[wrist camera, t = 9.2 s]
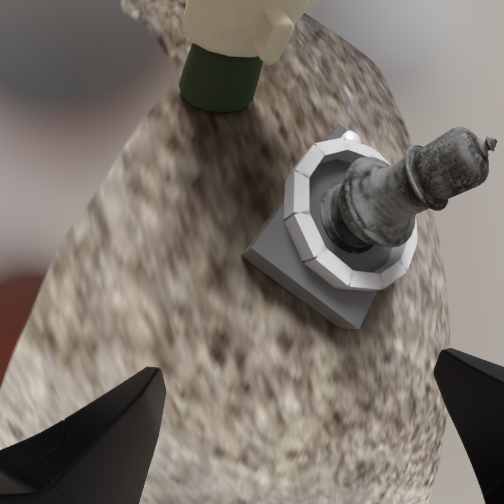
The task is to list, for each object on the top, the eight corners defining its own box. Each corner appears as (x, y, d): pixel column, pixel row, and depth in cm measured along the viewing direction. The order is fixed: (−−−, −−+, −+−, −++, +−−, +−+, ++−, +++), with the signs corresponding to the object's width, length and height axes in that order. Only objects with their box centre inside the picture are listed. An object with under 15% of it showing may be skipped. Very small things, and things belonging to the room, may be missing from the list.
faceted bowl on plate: (345, 332, 20) (379, 336, 16) (232, 248, 19) (247, 233, 15) (400, 208, 24) (430, 195, 20) (317, 133, 23) (341, 107, 19)
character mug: (276, 135, 21) (364, 14, 9) (190, 150, 19) (229, -10, 7) (235, 51, 22) (279, -56, 10) (163, 58, 20) (181, -64, 8)
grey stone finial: (309, 244, 18) (477, 165, 6) (320, 166, 19) (441, 58, 8) (379, 267, 19) (532, 226, 7) (383, 194, 20) (506, 126, 9)
